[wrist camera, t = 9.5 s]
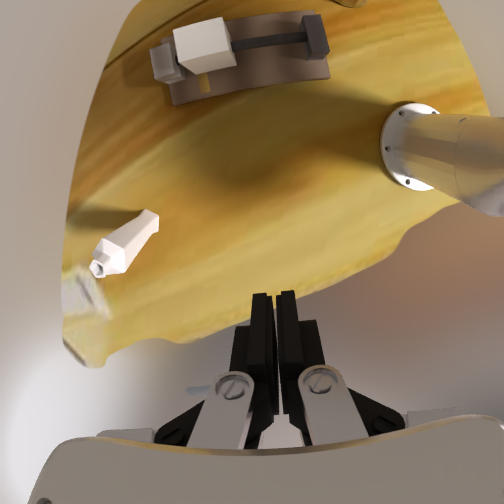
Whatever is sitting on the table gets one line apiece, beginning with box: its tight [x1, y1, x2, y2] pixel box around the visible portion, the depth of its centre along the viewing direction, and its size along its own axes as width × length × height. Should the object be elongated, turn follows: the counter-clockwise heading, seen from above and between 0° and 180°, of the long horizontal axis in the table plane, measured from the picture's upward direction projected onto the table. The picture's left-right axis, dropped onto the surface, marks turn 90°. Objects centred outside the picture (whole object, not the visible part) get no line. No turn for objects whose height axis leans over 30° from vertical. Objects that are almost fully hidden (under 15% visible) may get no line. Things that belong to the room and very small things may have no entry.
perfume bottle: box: [89, 209, 159, 278], centre depth 34 cm, size 5×4×15 cm
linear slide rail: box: [149, 10, 330, 106], centre depth 28 cm, size 20×10×6 cm, turn 101°
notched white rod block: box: [173, 17, 237, 75], centre depth 25 cm, size 5×4×8 cm
